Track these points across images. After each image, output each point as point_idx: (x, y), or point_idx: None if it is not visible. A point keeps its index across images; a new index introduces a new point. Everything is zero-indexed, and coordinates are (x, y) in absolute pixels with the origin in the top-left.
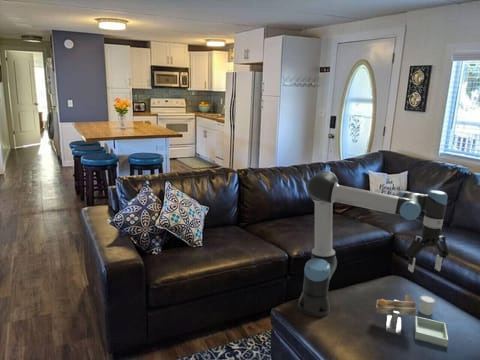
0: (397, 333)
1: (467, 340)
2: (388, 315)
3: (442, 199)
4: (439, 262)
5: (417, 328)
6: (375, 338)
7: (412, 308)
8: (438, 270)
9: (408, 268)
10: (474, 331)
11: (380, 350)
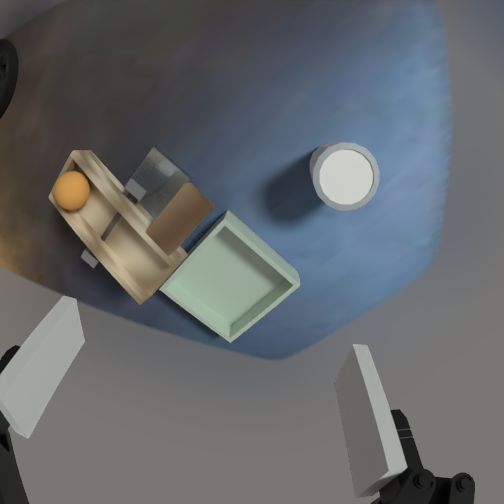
0: None
1: (319, 323)
2: (153, 153)
3: None
4: (351, 442)
5: (174, 278)
6: (63, 239)
7: (134, 294)
8: (336, 383)
9: (58, 306)
10: (381, 300)
11: (59, 279)
